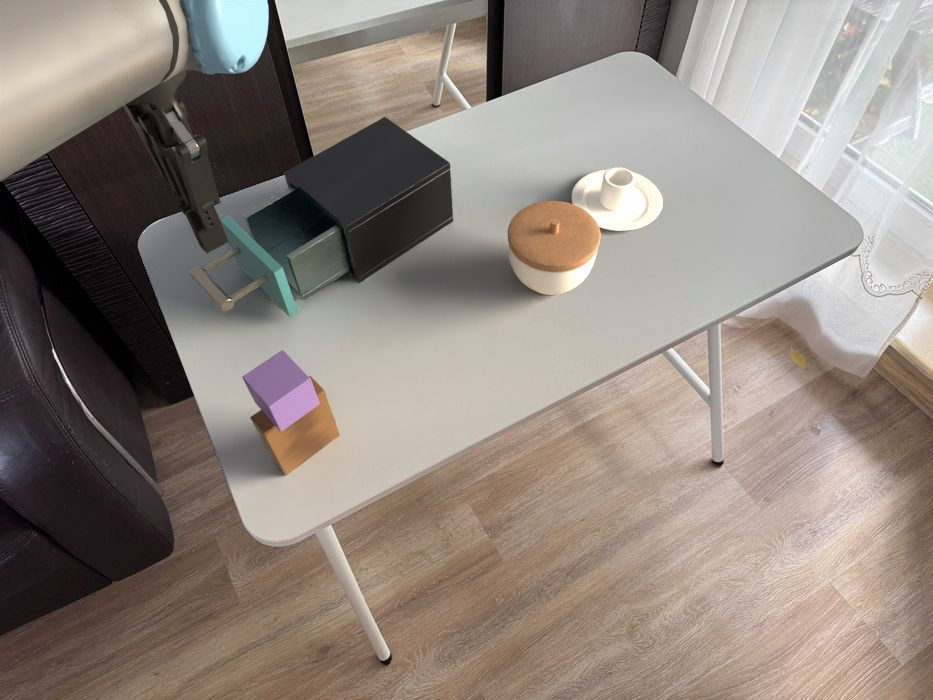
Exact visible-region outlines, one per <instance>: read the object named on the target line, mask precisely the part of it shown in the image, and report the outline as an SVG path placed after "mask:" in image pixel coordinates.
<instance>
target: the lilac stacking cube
mask: <svg viewBox="0 0 933 700" xmlns="http://www.w3.org/2000/svg"><path fill="white" fill-rule="evenodd" d="M309 376H310V375H308V374H307V373H306V371H304V369H303V368H301V366H299V364H297V362H296V361H295V360H294V359H293V358H292V357H291V356H290V355H289V354H288V353H287V352H286V351H285V350H284V349H281V350H280V351H278V352H277V353H275V354H274V355H273V356H270V358H268V359H266V360H265V361H264V362H262V363H260V364H259V365H257V366H256V367H254V368H253V369H251V370H250V371H248V372H247V373H245V374H244V375H243V376H242V377H241V378H242V380H243V382H244V384H245V386H246V388H247V390H248V391H249V394H250V396H251V398H252V400H253V401H254V403H255V404H256V406H257V407H258V408H259V410H262V411H263V412H264V413H265V415H266V416H267V417H268V418H269V419H270V420H271V422H272V423H273V424H274V425H275V426H276V427H277V428H278V430H279V431H280V432H282V431H283V430H284V429H286V428H287V427H289V426H290V425H291V424H293V423H294V422H296V421H297V420H298V419H300V418H301V417H303V416H304V415H305V414H307V413H308V412H310V411H311V410H312V409H314V408H315V407H316V406H318V405H319V404H320V403H319V400H318V398H317V395H316V392H315V390H314V387H313V384H312V381H311V379H310V377H309Z"/></svg>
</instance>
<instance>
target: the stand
mask: <svg viewBox="0 0 933 700" xmlns="http://www.w3.org/2000/svg"><path fill="white" fill-rule="evenodd" d="M308 376H309V377H310V379H311V381H312V384H313V387H314V390H315V392H316V395H317V398H318V400H319V403H320V404H319V405H318V406H316V407H315V408H314V409H312V410H311V411H310V412H308V413H307V414H305V415H304V416H303V417H301V418H300V419H298V420H297V421H296V422H294V423H293V424H291V425H290V426H289V427H287V428H286V429H284V430H283V431H282V432H280V431H279V430H278V428H277V427H276V426H275V425H274V424H273V423H272V422H271V420H270V419H269V418H268V417H267V416H266V415H265V413H264V412H263V411H262V410H261V409H259V411H256V413H254V414H252V415H250V417H249V418H250V421H251V422H252V425H253V426H254V428H255V430H256V431H257V434H258V435H259V437H260V439H261V441H262V443H263V444H264V446H265V448H266V450H267V453H268V454H269V456H270V458H271V460H272V461H273V462H274V464H275V465H276V467H278V468H279V470H280V471H281V472H282V473H283V475H285V476H287V475H289V474H290V473H292V472H293V471H294V470H295V469H297V468H298V467H299V466H301V465H302V464H303V463H305V462H306V461H308V460H309V459H311V457H313V456H314V455H316V454H317V453H318V452H320V451H321V450H322V449H323V448H325V447H326V446H328V445H329V444H330V443H332V442H333V441H335V439H337V438H338V437H340V435H341V434H340V431H339V427H338V425H337V422H336V420H335V419H336V418H335V416H334V414H333V411H332V408H331V406H330V402H329V400H328V397H327V394H326V391H325V389H324V388H323V386H321V385H320V384H319V382H317V381H316V380H315V379H314V378H313V376H312V375H308Z"/></svg>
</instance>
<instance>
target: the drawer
mask: <svg viewBox="0 0 933 700" xmlns="http://www.w3.org/2000/svg"><path fill="white" fill-rule="evenodd" d="M242 217H243V219H244V222H245V224H246V227H247V229H248V232H249V234H248V233H247V232H246V230H244V229H243V228H242V227H241V226H239V224H238V223H237V222H236V221H235V220H234V219H233V218H231V216H229V215H226V216H224V217H222V218H221V219H220V221H221V224H222V226H223V228H224V231H225V233H226V236H227V238H228V241H229V242H228V244H229V246H230V249H231V250H230V251H229V252H226V253H225V254H224V255H222V256H221V257H218V258H217V259H215V260H213V261H212V262H210V263H208V264H206V265H204V266H199V265H196V266H194V267H193V268H191V269H190V271H189V276H190V277H191V278H192V280H193V281H194V282H195V283H196V284H197V285H198V286H199V287H200V288H201V289H202V290H203V291H204V292H205V294H206V295H207V296H208V297H209V298H210V299H211V301H213V302H214V303H215V304H216V306H218V308H219V309H220V310H221V311H223V312H229V311H230V310H232V309H233V308H234V305H235V302H237V301H238V300H240V299H242V298H243V297H245V296H247V295H248V294H250V293H252V292H253V291H254V290H256V289H258V288H260V289H261V290H262V291H263V292H264V293H265V294H266V295H267V296H268V297H269V298H270V299H271V300H272V301H273V302H274V303H275V304H276V305H277V306H278V307H279V308H280V309H281V310H282V311H283V312H284V314H286V315H287V317H289V318H292V317H293V316H295V315H297V314H298V313H299V310H298V307H297V305H296V302H295V299H294V296H293V294H292V291H293V292H295V294H296V295H297V296H298V297H299V298H300V299H302V301H306V300H307V299H308V298H310V297H312V296H313V295H315V294H316V293H318V292H319V291H321V290H322V289H324V288H325V287H328V286H329V285H330V284H331V283H334V282H335V281H337V280H338V279H339V278H341V277H343V276H344V275H346V274H348V273H347V272H349V271H350V270H352V269H353V268H352V263H351V259H350V255H349V250H348V246H347V242H346V237H345V233H344V228H342V227H341V226H340V225H339V224H338V223H337V222H335V221H334V220H333V219H332V218H331V217H330V216H329V215H327V214H326V213H325V212H324V211H323V210H322V209H320V208H319V207H318V206H317V205H316V204H315V203H313V202H312V201H311V200H310V199H309V198H308V197H306V196H305V195H304V194H303V193H302V192H301V191H299V190H298V189H297V188H296V187H295V186H292V187H290V188H288V187H287V189H285V190H283V191H281V192H280V193H278V194H276V195H274V196H272V197H270V198H268V199H267V200H265V201H264V202H262V203H260V204H259V205H257V206H255V207H253V208H251V209H250V210H248V211H246V212H244V213H243V214H242ZM234 258H235V261H236V264H237V265H238V267H239V268H240V269H241V270H242V271H243V272H244V273H245V274H246V275H247V276H248V277H249V278H250V279H251V280H252V281H251V282H250V283H249V284H247V285H246V286H244V287H242V288H241V289H239V290H238V291H236V292H234V293H232V294H231V295H230V296H229V295H228V293H226V291H224V289H222V287H221V286H220V285H219V284H218V283H217V282H216V281H215V280H214V279H213V277H211V275H209V274H208V273H211V272H212V271H213V270H215V269H217V268H218V267H220V266H221V265H224V264H226V263H227V262H229V261H230V260H232V259H234ZM291 290H292V291H291Z"/></svg>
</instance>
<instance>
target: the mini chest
mask: <svg viewBox="0 0 933 700" xmlns="http://www.w3.org/2000/svg"><path fill="white" fill-rule="evenodd" d="M283 175H284V178H285V182H286V185H287V189H288V188H290V187H292V186H295V187H296V188H297V189H298V190H299V191H301V192H302V193H303V194H304V195H305V196H306V197H308V198H309V199H310V200H311V201H312V202H313V203H315V204H316V205H317V206H318V207H319V208H320V209H322V210H323V211H324V212H325V213H326V214H327V215H329V216H330V217H331V218H332V219H333V220H334V221H335V222H337V223H338V224H339V225H340V226H341V227H342V228H344V233H345V237H346V242H347V246H348V250H349V255H350V259H351V263H352V268H353V269H352V270H350V271H349V272H347V273H346V274H348V275H350V276H351V277H352V278H353V279H354V280H355V281H356V282H358V284H360V283H363V282H364V281H365V280H367V279H368V278H369V277H371V276H372V275H374V274H376V273H377V272H378V271H380V270H382V269H383V268H385V267H386V266H387V265H389V264H391V263H392V262H394V261H395V260H397V259H398V258H400V257H402V256H403V255H405V254H406V253H408V252H409V251H410V250H412V249H414V248H415V247H417V246H418V245H420V244H421V243H423V242H424V241H425V240H428V238H431V237H432V236H433V235H435V234H436V233H438V232H439V231H441V230H442V229H445V228H446V227H447V226H449V225H451V223H453V222H454V211H453V210H454V209H453V191H452V190H453V189H452V176H451V163H450V162H449V160H447V159H446V158H444V157H443V156H442V155H440V154H439V153H437V152H436V151H434V150H433V149H431V148H430V147H428V146H427V145H426V144H424V143H423V142H421V141H420V140H419V139H417V138H416V137H414V136H413V135H412V134H410V133H409V132H407V131H406V130H404V129H403V128H402V127H401V126H399V125H398V124H397V123H395V122H393V121H392V120H390V119H389V118H387V117H386V116H383V117H381V118H380V119H378V120H376V121H375V122H372V123H371V124H369V125H367V126H366V127H364V128H362V129H360V130H358V131H356V132H355V133H353V134H351V135H349V136H347V137H346V138H343V139H342V140H340V141H339V142H336V143H334V144H333V145H332V146H330V147H327V148H326V149H324V150H322V151H320V152H318V153H317V154H315V155H313V156H311V157H310V158H308V159H306V160H304V161H302V162H301V163H299V164H297V165H295V166H293V167H291V168H290V169H288V170H286V171H284V172H283Z"/></svg>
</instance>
